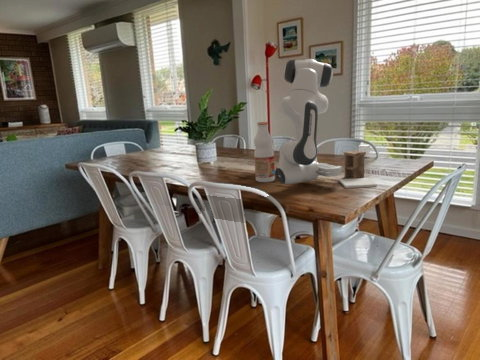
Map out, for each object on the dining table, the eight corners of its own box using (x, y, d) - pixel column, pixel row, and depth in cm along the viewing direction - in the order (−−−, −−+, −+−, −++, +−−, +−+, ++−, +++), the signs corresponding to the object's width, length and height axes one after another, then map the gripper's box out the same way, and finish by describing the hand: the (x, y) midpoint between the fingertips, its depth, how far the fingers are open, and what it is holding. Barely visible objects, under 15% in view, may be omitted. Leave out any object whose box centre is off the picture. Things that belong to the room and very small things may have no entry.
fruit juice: (253, 179, 180) (250, 122, 174) (271, 177, 182) (269, 121, 176) (258, 183, 171) (255, 123, 165) (277, 181, 173) (275, 122, 167)
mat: (345, 188, 154) (345, 185, 154) (339, 181, 166) (339, 179, 166) (376, 186, 153) (376, 184, 153) (368, 179, 165) (368, 177, 165)
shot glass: (356, 155, 225) (356, 144, 223) (367, 155, 225) (367, 143, 223) (361, 157, 218) (361, 146, 216) (372, 156, 218) (372, 145, 217)
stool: (354, 179, 168) (354, 153, 165) (343, 176, 174) (343, 152, 171) (365, 177, 171) (365, 151, 168) (354, 174, 177) (354, 150, 174)
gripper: (325, 166, 149) (350, 162, 155) (296, 160, 167) (319, 156, 173) (325, 181, 151) (350, 176, 157) (296, 173, 169) (320, 169, 175)
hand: (334, 166), depth 165 cm, fingers open, 8 cm apart
